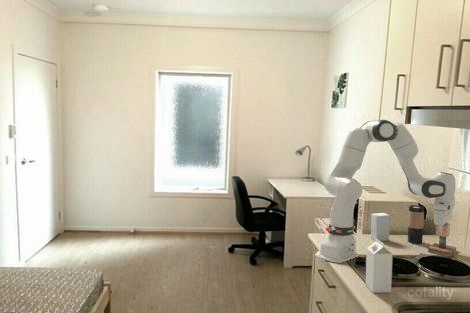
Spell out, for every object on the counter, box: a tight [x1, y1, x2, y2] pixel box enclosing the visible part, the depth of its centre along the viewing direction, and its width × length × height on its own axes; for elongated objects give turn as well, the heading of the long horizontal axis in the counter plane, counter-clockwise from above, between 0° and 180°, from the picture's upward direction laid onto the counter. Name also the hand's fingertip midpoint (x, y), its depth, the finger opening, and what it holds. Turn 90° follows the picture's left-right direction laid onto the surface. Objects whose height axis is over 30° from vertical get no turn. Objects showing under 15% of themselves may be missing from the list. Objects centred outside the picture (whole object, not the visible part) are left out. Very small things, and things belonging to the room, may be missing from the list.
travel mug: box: [407, 204, 425, 245], centre depth 199 cm, size 8×8×20 cm
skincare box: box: [370, 212, 391, 242], centre depth 204 cm, size 8×6×15 cm
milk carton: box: [365, 239, 393, 294], centre depth 140 cm, size 7×7×19 cm
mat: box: [413, 252, 433, 261], centre depth 174 cm, size 11×10×1 cm
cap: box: [435, 222, 451, 238], centre depth 184 cm, size 5×5×6 cm
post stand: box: [427, 236, 457, 258], centre depth 185 cm, size 12×10×8 cm
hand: (442, 230), depth 184 cm, fingers closed on cap, 5 cm apart
